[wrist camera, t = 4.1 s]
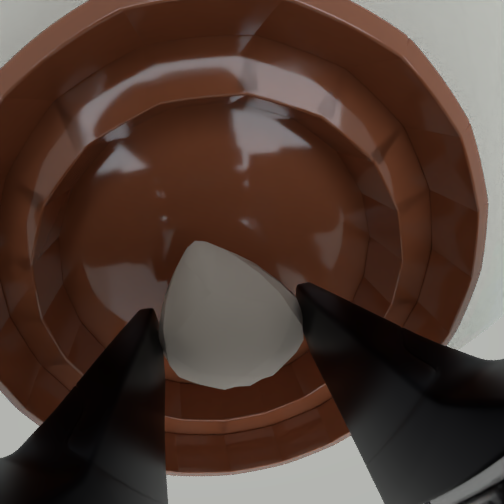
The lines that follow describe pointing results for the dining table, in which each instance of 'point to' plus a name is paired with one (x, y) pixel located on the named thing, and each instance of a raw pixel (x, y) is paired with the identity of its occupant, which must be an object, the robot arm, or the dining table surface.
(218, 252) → the garlic clove
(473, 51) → the dining table surface
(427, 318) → the bowl
